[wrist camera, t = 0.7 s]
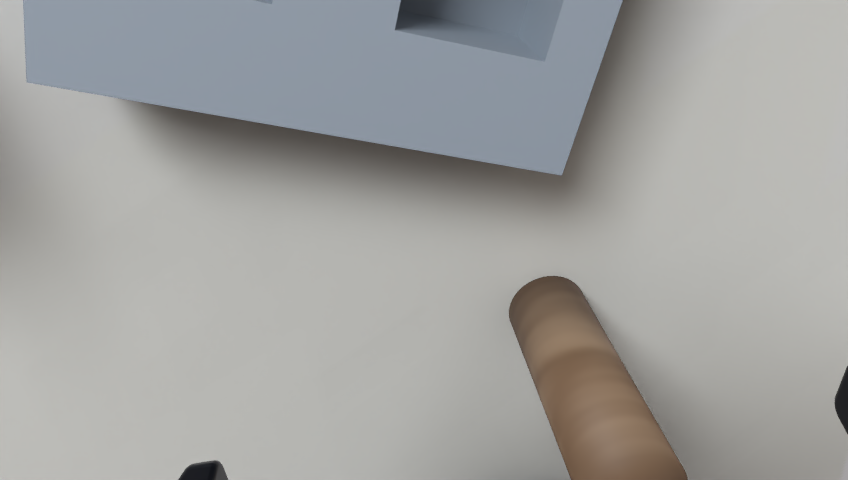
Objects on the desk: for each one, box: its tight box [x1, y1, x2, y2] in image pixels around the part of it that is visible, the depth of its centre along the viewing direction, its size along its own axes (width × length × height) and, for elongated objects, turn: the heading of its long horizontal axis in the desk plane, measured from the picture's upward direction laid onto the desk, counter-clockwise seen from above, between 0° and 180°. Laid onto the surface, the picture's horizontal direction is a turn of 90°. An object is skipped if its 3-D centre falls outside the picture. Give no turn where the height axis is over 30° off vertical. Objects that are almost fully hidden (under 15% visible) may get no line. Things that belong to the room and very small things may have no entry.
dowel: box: [509, 276, 687, 480], centre depth 23 cm, size 3×3×9 cm
